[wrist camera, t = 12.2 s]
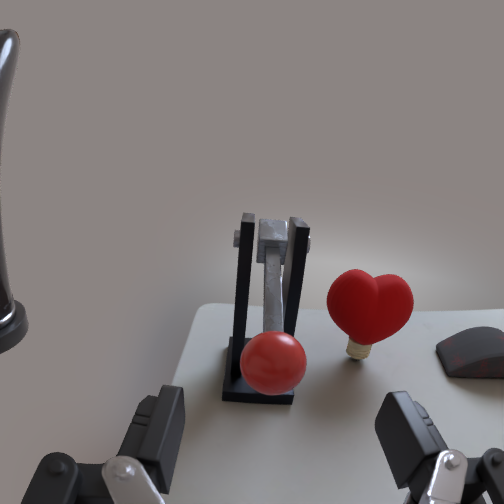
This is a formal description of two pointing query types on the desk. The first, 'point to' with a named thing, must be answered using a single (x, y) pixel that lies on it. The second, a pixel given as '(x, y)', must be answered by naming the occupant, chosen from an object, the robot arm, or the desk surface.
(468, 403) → the desk surface
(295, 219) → the bracket
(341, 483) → the desk surface
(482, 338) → the computer mouse
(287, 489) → the desk surface
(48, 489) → the robot arm
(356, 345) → the light bulb
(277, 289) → the lever
